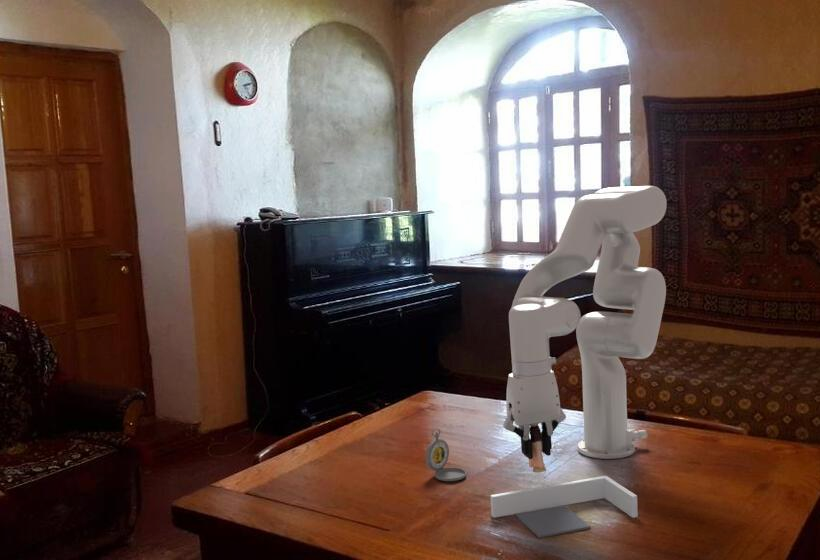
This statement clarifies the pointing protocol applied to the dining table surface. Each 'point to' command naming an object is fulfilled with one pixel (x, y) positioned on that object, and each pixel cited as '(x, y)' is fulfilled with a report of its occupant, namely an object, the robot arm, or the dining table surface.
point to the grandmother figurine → (536, 449)
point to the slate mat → (552, 521)
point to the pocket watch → (442, 461)
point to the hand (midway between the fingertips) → (537, 454)
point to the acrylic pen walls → (564, 496)
